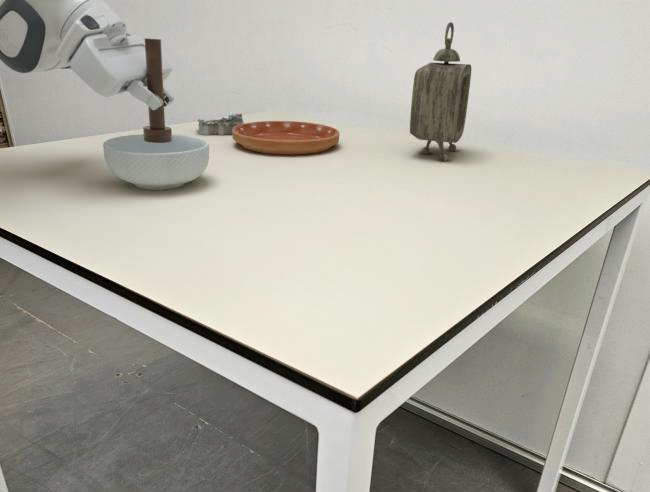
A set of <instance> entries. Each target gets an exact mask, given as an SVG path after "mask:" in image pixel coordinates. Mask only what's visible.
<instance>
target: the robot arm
mask: <svg viewBox="0 0 650 492" xmlns="http://www.w3.org/2000/svg"><path fill="white" fill-rule="evenodd" d="M126 31H127V25H126V23H125V21H123V19H121V18H120V16H119V15H118V14H117V13H116V11H114V10H113V9H112V8H111V7H110V6H109V5H108V4H107V3H106V2H105V1H104V0H0V61H1V62H2V63H3V64H4V65H5V66H7V68H9V69H10V70H12V71H14V72H17V73H20V74H31V73H39V72H46V71H47V72H48V71H53V70H59V69H60V70H61V69H63V70H66V69H69V70H72V71H73V73H75V74H76V75H77V76H78V77H79V79H81V80H82V81H83V82H84V83H85V84H86V85H87V86H88V87H90V89H92V90H93V91H94V92H95V93H97V94H99V96H103V97H105V98H109V97H112V96H116V95H120V94H125V93H129V94H130V95H131V96H132V97H134V98H136V99H137V100H139V101H141V102H142V103H144V104H146V105H147V106H149V107H150V108H151V109H152V110H157V109H159V108H160V107H161V106H162V104H163V100H162V99H161V98H159V96H158V95H157V94H153V93H152V92H151V91H149V90H148V89H147V72H146V54H145V38H143V37H142V36H141V35H140V36H139V35H131V34H130V33H129V32H126ZM172 71H173V66H172V64H171V63H170V61H169V60H168V59H167V58H166V57H165V56H164V55H162V72H163V94H164V108H165V107H169V106H171V104H172V103H173V102H174V96H173V95H172V94H171V93H170V92H169V91H168V90H167V88H166V85H165V83H164V82H165V81H166V79H167V78H169V76H170V74H171V73H172Z"/></svg>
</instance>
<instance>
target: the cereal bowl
mask: <svg viewBox="0 0 650 492" xmlns="http://www.w3.org/2000/svg"><path fill="white" fill-rule="evenodd" d="M102 148H103V149H102V151H103V156H104V161H105V162H106V165H107V167H108V169H109V170H110V171H111V172H112V173H113V175H115V176H116V177H117V178H118V179H121V180H122V181H124V182H127V183H130V184H133V185H134V186H135V187H137V188H138V189H142V190H154V191H158V190H159V191H161V190H171V189H177V188H180V187H183V186H185V184H186V183H189V182H191V181H194V180H196V179H198V178H199V177H200V176H201V175H203V173H204V172H205V171H206V170H207V167H208V164H209V160H210V144H209V142H208V140H206V139H204V138H201V137H197V136H193V135H184V134H173V133H172V141H171V142H168V143H152V142H146V141H144V133H142V134H141V133H140V134H128V135H120V136H116V137H112V138H109V139H107V140H105V141H103V143H102Z"/></svg>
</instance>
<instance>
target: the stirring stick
mask: <svg viewBox="0 0 650 492" xmlns="http://www.w3.org/2000/svg"><path fill="white" fill-rule="evenodd" d="M144 39H145V54H146V72H147V87H146V88H147V89H148V90H149V91H151V92H152V93H153V94H157V95H158V96H159V98H161V99H162V100H163V104H162V106H161V107H160V108H159V109H157V110H152V109H151V108H150V107H149V106H148V105H147V106H148V123H149V124H148V125H146V126H143V127H142V134H144V141H146V142H152V143H168V142H171V141H172V134H173V133H172V132H173V131H172V127H169V126H166V120H165V117H166V116H165V107H164V94H163V83H164V82H163V72H162V56H163V52H162V39H160V38H148V37H145V38H144Z"/></svg>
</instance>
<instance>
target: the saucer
mask: <svg viewBox="0 0 650 492" xmlns="http://www.w3.org/2000/svg"><path fill="white" fill-rule="evenodd" d="M231 135H232V140H233V141H235V142H236V143H238V144H240V145H241V147H243V148H244V149H247V150H250V151H253V152H257V153H262V154H267V155H268V154H269V155H280V156H281V155H283V156H285V155H286V156H287V155H289V156H292V155H294V156H295V155H296V156H297V155H308V154H309V155H310V154H315V153H316V154H317V153H321V152H325V151H328V150H329V149H331V147H333V146H335V145H337V144H338V143H339V142H340V131H339V130H338V129H337V128H335V127H332V126H329V125H325V124H321V123H314V122H306V121H293V120H261V121H252V122H244V124H241V125H237V126H235V127H234V128H233V129H232V134H231Z"/></svg>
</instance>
